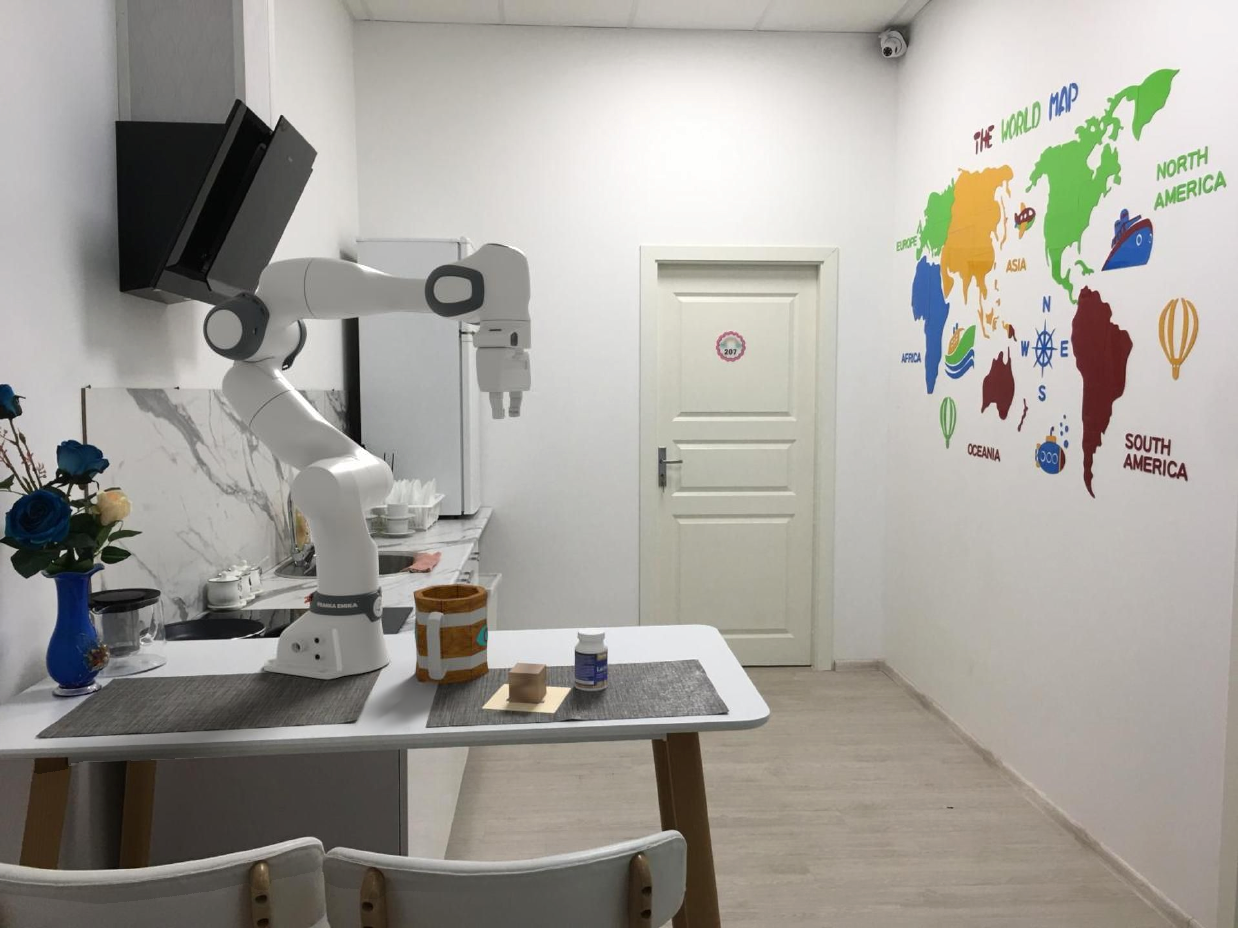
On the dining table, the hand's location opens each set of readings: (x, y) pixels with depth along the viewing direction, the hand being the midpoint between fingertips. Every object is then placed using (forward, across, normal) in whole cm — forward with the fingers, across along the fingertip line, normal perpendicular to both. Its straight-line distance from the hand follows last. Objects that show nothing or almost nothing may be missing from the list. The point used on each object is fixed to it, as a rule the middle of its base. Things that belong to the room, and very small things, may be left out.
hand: (506, 418), depth 159 cm
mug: (+46, +4, -10) cm, 48 cm away
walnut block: (+46, +12, +7) cm, 48 cm away
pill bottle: (+46, +4, +16) cm, 49 cm away
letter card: (+46, +12, +7) cm, 48 cm away
